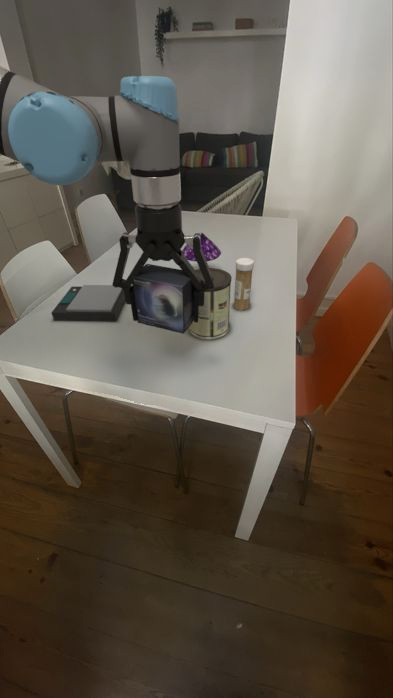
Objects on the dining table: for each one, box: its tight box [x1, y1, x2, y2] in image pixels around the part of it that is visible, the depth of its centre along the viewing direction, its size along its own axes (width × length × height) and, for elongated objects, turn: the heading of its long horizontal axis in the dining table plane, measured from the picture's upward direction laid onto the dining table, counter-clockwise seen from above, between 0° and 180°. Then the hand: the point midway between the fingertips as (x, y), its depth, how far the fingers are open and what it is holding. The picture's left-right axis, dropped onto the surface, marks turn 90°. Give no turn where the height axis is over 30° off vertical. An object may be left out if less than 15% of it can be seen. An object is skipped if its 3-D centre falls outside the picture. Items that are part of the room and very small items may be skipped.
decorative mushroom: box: [181, 232, 222, 269], centre depth 98 cm, size 12×12×15 cm
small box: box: [131, 263, 195, 335], centre depth 62 cm, size 11×6×10 cm, turn 68°
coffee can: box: [188, 267, 232, 340], centre depth 77 cm, size 10×10×14 cm
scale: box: [50, 284, 126, 322], centre depth 89 cm, size 17×15×3 cm
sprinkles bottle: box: [233, 257, 255, 311], centre depth 85 cm, size 5×5×14 cm
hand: (166, 318), depth 64 cm, fingers closed on small box, 11 cm apart
